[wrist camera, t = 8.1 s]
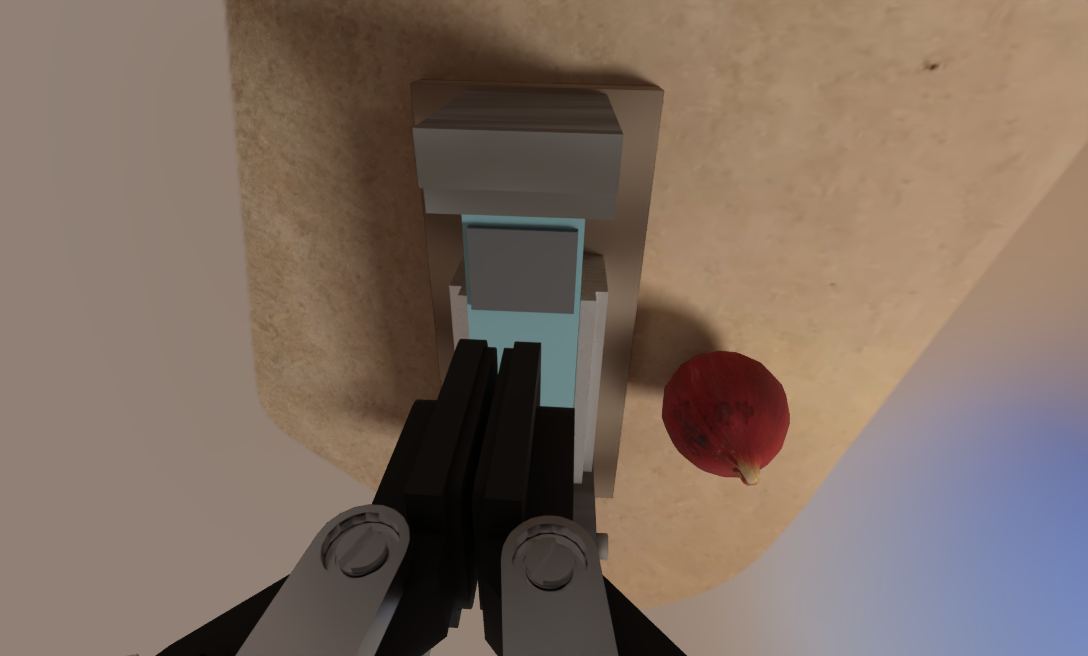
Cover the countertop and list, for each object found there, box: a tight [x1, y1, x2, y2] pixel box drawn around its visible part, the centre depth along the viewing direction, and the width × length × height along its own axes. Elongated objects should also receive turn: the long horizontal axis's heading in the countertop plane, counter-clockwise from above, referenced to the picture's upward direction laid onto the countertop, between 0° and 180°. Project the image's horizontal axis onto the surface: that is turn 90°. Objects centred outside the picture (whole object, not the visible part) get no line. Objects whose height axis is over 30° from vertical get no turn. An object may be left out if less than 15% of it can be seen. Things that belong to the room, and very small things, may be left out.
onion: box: [662, 351, 790, 486], centre depth 25 cm, size 6×6×8 cm
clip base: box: [410, 80, 664, 560], centre depth 24 cm, size 23×10×10 cm, turn 179°
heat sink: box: [449, 255, 608, 483], centre depth 25 cm, size 10×6×4 cm, turn 179°
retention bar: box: [462, 215, 585, 408], centre depth 22 cm, size 18×4×1 cm, turn 179°
